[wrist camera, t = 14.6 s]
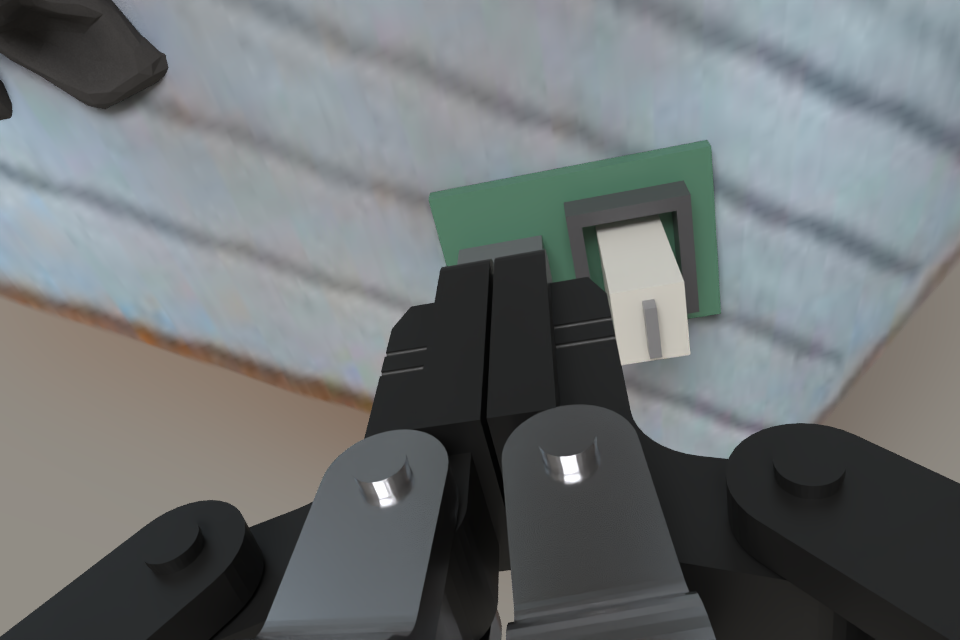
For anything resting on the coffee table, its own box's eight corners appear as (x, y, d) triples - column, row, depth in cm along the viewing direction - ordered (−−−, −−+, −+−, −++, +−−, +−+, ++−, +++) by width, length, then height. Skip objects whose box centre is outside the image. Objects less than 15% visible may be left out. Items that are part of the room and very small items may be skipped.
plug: (657, 212, 43) (687, 289, 36) (664, 278, 45) (693, 363, 38) (594, 224, 44) (611, 302, 36) (604, 288, 46) (621, 374, 39)
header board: (707, 140, 42) (721, 162, 39) (717, 305, 48) (730, 335, 45) (430, 192, 44) (424, 218, 41) (471, 344, 50) (468, 375, 47)
